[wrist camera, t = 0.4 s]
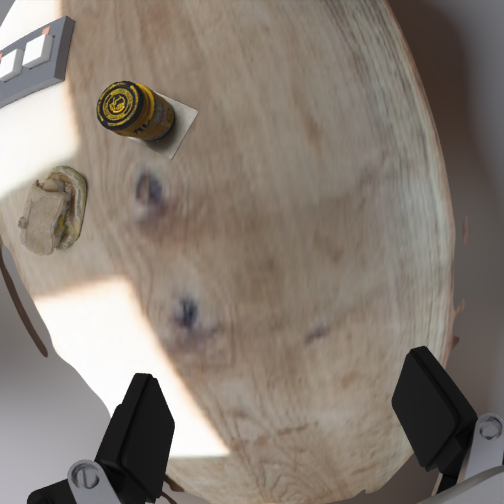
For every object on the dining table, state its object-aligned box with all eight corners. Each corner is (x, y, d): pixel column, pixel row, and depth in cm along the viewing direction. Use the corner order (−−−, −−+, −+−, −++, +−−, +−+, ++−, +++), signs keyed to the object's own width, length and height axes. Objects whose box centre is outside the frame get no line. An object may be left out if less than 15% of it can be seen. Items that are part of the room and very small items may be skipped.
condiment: (147, 88, 32) (109, 65, 20) (198, 111, 33) (177, 91, 22) (122, 134, 34) (77, 128, 22) (172, 159, 35) (140, 159, 24)
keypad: (-4, 61, 26) (-13, 59, 23) (74, 21, 26) (65, 15, 23) (-12, 114, 29) (-22, 114, 26) (64, 80, 30) (53, 77, 27)
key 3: (38, 47, 25) (26, 43, 22) (57, 39, 26) (45, 33, 22) (34, 69, 27) (22, 65, 23) (52, 61, 27) (40, 56, 24)
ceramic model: (73, 260, 40) (38, 285, 30) (29, 229, 38) (-8, 247, 28) (98, 182, 36) (60, 192, 26) (50, 154, 34) (9, 158, 24)
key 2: (13, 61, 25) (1, 57, 22) (28, 52, 25) (16, 48, 22) (9, 81, 27) (-3, 79, 23) (24, 74, 27) (12, 71, 23)
